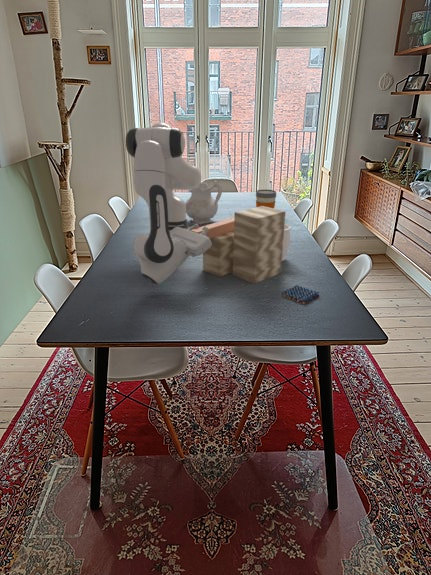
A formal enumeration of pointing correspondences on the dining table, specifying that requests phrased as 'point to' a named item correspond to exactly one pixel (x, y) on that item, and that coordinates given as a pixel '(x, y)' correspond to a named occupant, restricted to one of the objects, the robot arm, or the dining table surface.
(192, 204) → the ceramic pitcher
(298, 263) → the dining table surface
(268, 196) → the reusable coffee cup
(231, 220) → the rod
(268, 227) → the stand
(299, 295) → the woven mat
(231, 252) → the base block
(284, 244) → the jar
